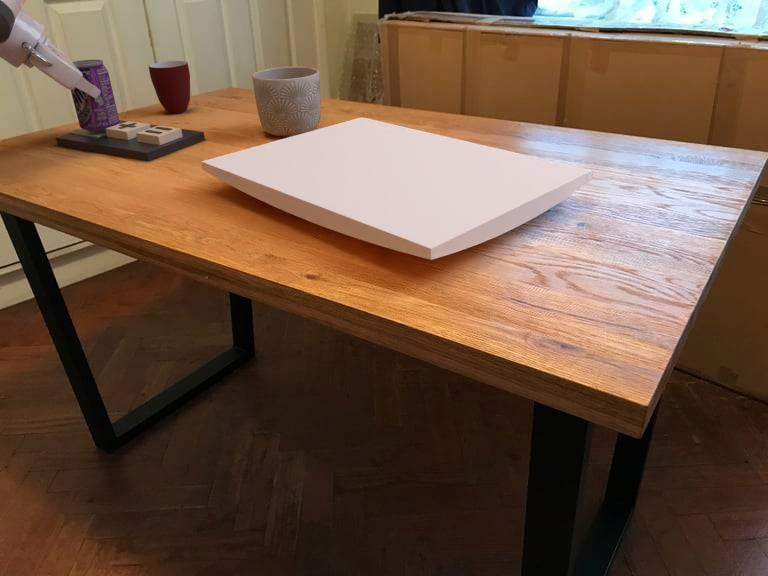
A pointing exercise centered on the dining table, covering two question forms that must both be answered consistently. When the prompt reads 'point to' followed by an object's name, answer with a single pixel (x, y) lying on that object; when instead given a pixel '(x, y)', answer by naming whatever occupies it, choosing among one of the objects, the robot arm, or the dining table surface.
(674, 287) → the dining table surface
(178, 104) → the mug
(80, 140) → the letter board
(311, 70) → the planter
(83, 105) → the beverage can
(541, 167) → the board
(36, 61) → the robot arm
